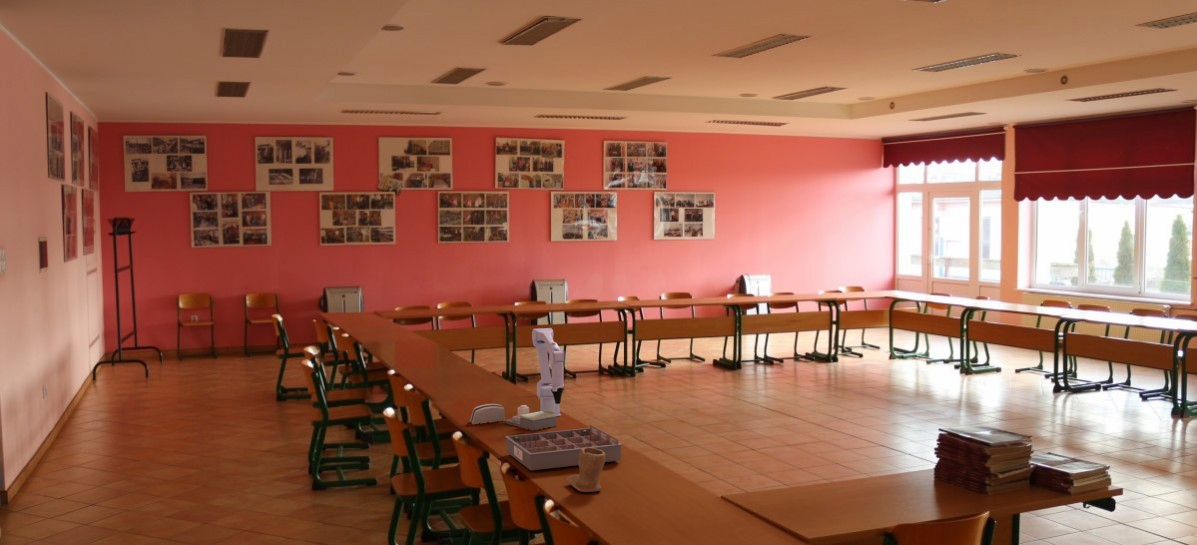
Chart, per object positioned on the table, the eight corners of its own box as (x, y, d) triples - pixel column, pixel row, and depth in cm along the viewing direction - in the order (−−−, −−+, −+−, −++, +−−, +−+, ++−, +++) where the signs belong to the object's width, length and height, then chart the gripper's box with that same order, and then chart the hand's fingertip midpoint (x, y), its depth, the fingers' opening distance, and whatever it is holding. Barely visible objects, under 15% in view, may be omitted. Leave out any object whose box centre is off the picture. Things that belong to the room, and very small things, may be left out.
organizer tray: (504, 455, 394) (504, 431, 393) (592, 445, 410) (592, 423, 409) (529, 474, 365) (529, 449, 364) (623, 463, 380) (623, 439, 380)
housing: (527, 418, 462) (527, 409, 462) (556, 426, 446) (556, 416, 446) (504, 423, 453) (504, 413, 453) (533, 430, 437) (533, 421, 436)
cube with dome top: (524, 418, 456) (524, 404, 456) (529, 419, 453) (529, 405, 453) (517, 419, 454) (517, 405, 453) (522, 421, 451) (522, 406, 450)
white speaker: (501, 418, 463) (503, 401, 459) (504, 423, 459) (507, 405, 455) (468, 422, 455) (471, 404, 451) (471, 427, 451) (474, 409, 448)
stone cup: (609, 492, 341) (609, 451, 340) (578, 495, 337) (578, 454, 336) (596, 481, 355) (596, 442, 354) (566, 484, 351) (566, 444, 350)
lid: (543, 412, 453) (543, 409, 453) (556, 416, 446) (556, 412, 446) (519, 417, 444) (519, 413, 444) (533, 420, 436) (533, 416, 436)
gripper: (552, 372, 460) (552, 400, 460) (546, 377, 445) (546, 406, 446) (566, 373, 458) (566, 400, 459) (560, 378, 444) (560, 406, 445)
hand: (557, 403), depth 453 cm, fingers closed
